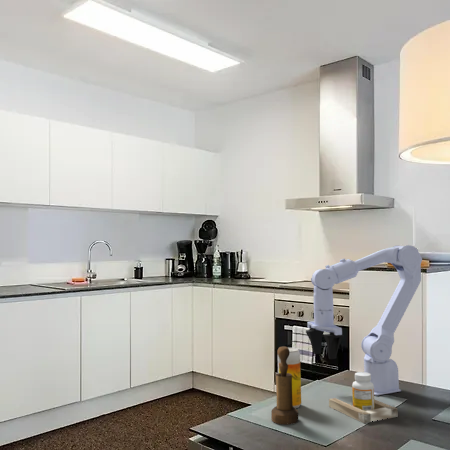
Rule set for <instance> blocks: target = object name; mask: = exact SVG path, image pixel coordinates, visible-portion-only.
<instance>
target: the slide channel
mask: <svg viewBox="0 0 450 450" xmlns="http://www.w3.org/2000/svg"><path fill="white" fill-rule="evenodd" d="M374 406H375V409H374V410H369V411H363V410H361V409H359V408H356V407H354V406H353V404H352V405H351V404H350V403H347V402H345V401H342V400H340V399H338V398H336V397H334V398H329V399H328V407H329V408H331V409H333V410H335V411H337V412H340V413H342V414H344V415H345V416H348V417H350V418H351V419H354V420H356V421H359V422H360V423H363V424H368V423H373V422H378V421H383V420H388V419H392V418H396V417H397V418H398V408H397V407H395V406H393V405H389V404H387V403H385V402H382V401H380V400H377V399H375V398H374ZM387 418H388V419H387ZM382 419H383V420H382ZM377 420H378V421H377ZM372 421H373V422H372Z"/></svg>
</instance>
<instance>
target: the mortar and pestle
mask: <svg viewBox="0 0 450 450" xmlns="http://www.w3.org/2000/svg"><path fill="white" fill-rule="evenodd" d="M288 348H289V347H288V346H285V345H283V346H279V347H278V349H277V357H278V356H279V358H280V360H281V363H280V364H279V368H280V372H281V373H278V372H277V373H276V374H275V386H276V388H275V389H276V406H274V407H273V408H272V409H271V422H273V423H275V424H278V425H284V426H287V425H294V424H297V423H298V422H299V410H298V409H297V408H295V407H293V404H292V374H290V373H287V370H288V364H287V363H286V361H287V358H288V356H289V353H290V352H289V349H288Z"/></svg>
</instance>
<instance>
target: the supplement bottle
mask: <svg viewBox="0 0 450 450" xmlns="http://www.w3.org/2000/svg"><path fill="white" fill-rule="evenodd" d="M354 380H355V381H353V382H352V385H351V387H352V389H351V390H352V406H354V407H356V408H359V409H361V410H363V411H369V410H374V409H375V406H374V399H375V395H374V385H373V383H372V382H370V380H371V374H370V373H366V372H364V371H358V372H355V373H354Z"/></svg>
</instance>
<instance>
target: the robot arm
mask: <svg viewBox="0 0 450 450" xmlns="http://www.w3.org/2000/svg"><path fill="white" fill-rule="evenodd" d="M422 262H423V258H422V255H421V253H420V251H419V249H417V247H415V246H413V245H410V244H408V245H394V246H392V247H386V248H383V249H380V250H378V251H374V252H373V253H371V254H368V255H366V256H363V257H361V258H358V259H356V260H351V259H349V258H347V259H346V258H341V259H339V262H337V263H334V264H331V265H329V264H328V265H325V268H319V269H316V270H315V271H314V272H313V273H312V276H311V278H310V281H311V283H312V285H313V320H312V321H307V330H305V334H306V335H307V337H308V338H309V342H310V345H311V349H312V353H313V354H314V355H320V354H321V353H322V344H323V343H322V341H323V337H324V340H325V343H326V344H325V345H326V348H327V358H328V360H335V359H337V357H338V356H337V355H338V351H339V347H340V345H341V343H342V341H343V339H344V334H343V328H342V327H339V326H337V324H335V323H334V322H335V321H334V319H335V318H334V315H335V313H334V294H333V288H334V286H335V285H338V284H340V283H343V282H346V281H348V280H351V279H353V278H356V277H357V275H358V273H359V272H360V271H363V270H366V269H368V268H371V267H375V266H378V265H380V264H383V263H386V264H391V265H392V266H393V267H394V268H395V269H396V272H397V273H398V276H399V278H400V279H399V282H398V284H397V285H396V288H395V290H394V291H393V293H392V295H391V297H390V299H389V300H388V303H387V305H386V307H385V309H384V311H383V312H382V315H381V317H380V318H379V320H378V322H377V324H376V325H375V326H374V327H373V328H372V329H371V330H370V332H369V333H368V334H367V335H365V336H364V337H363V339H361V346H360V347H361V350H362V351H363V353H364V356H363V370H364V371H363V372H366V373H370V374H371V380H370V382H372V383H373V385H374V396H380V395H387V394H393V393H397V392H399V393H400V392H402V389H400V384H399V381H400V380H399V366H398V365H397V364H398V363H397V362H396V361H395V360H394V359H392V358H391V356H392V353H393V350H392V349H393V345H394V343H395V333H396V330H397V328H398V326H399V325H400V323H401V321H402V319H403V317H404V315H405V313H406V311H407V309H408V308H409V305H410V303H411V301H412V299H413V297H414V295H415V294H416V291H417V290H418V288H419V285H420V283H421V282H422V267H421V266H422V265H421V264H422ZM324 333H325V334H324Z"/></svg>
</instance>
